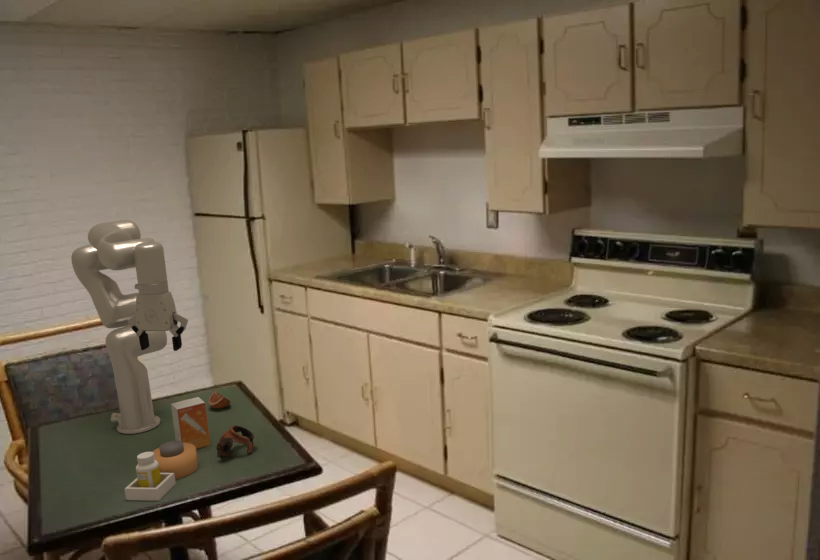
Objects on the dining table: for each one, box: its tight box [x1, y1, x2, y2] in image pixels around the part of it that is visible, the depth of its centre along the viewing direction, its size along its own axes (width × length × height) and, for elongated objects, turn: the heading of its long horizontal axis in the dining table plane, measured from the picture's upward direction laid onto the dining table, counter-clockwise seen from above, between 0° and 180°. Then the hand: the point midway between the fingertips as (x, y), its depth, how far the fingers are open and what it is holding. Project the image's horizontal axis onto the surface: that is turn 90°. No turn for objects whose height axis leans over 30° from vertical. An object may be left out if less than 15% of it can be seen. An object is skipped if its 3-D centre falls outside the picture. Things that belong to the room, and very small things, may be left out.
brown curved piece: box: [216, 425, 255, 458], centre depth 201 cm, size 12×10×8 cm
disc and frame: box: [124, 439, 199, 502], centre depth 188 cm, size 12×22×7 cm, turn 170°
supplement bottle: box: [135, 451, 161, 488], centre depth 182 cm, size 5×5×10 cm
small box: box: [170, 396, 211, 450], centre depth 207 cm, size 8×6×13 cm
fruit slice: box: [207, 390, 231, 409], centre depth 237 cm, size 8×7×5 cm
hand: (161, 349), depth 201 cm, fingers open, 9 cm apart
